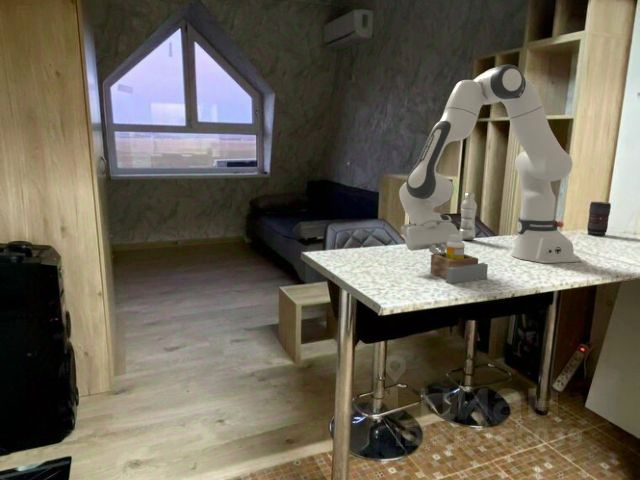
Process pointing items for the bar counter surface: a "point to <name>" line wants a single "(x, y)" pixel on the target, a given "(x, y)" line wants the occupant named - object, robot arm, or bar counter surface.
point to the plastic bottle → (468, 217)
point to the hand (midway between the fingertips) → (442, 257)
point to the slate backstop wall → (466, 273)
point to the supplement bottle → (455, 247)
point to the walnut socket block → (448, 263)
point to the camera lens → (598, 218)
